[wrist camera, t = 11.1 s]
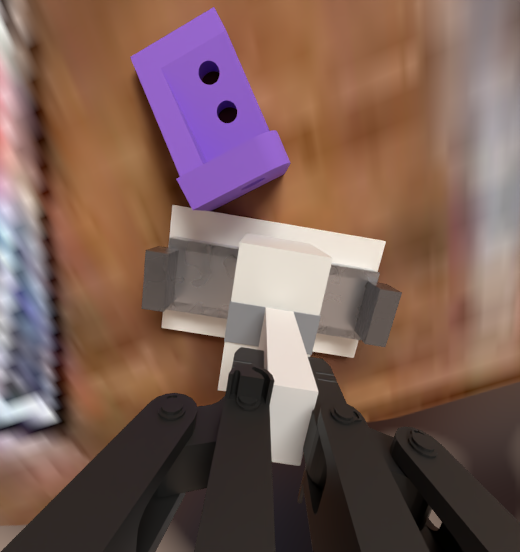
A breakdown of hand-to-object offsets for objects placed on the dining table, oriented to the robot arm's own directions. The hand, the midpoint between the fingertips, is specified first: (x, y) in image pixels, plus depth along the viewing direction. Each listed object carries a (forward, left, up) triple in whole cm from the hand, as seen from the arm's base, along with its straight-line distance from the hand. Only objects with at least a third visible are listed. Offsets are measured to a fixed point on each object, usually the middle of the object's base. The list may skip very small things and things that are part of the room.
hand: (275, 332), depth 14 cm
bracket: (-7, +12, -11) cm, 18 cm away
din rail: (0, 0, -10) cm, 10 cm away
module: (0, 0, -8) cm, 8 cm away
